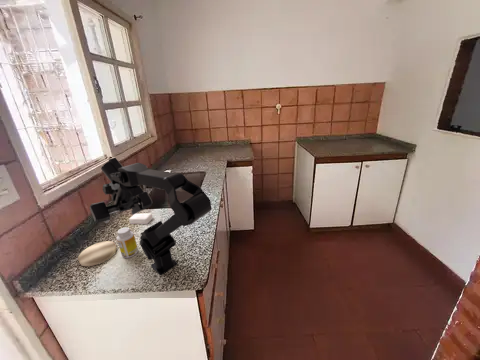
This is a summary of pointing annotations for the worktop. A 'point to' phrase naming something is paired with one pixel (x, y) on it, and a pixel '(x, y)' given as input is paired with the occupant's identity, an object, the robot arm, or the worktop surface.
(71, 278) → the worktop surface
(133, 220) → the soap
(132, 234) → the supplement bottle
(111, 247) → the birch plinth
